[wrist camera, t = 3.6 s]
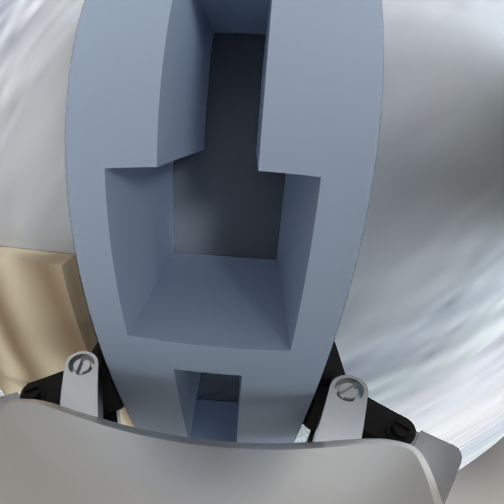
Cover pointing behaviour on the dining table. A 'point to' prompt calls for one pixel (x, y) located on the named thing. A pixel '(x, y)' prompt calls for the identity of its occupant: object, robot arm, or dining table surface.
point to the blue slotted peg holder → (161, 204)
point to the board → (41, 317)
